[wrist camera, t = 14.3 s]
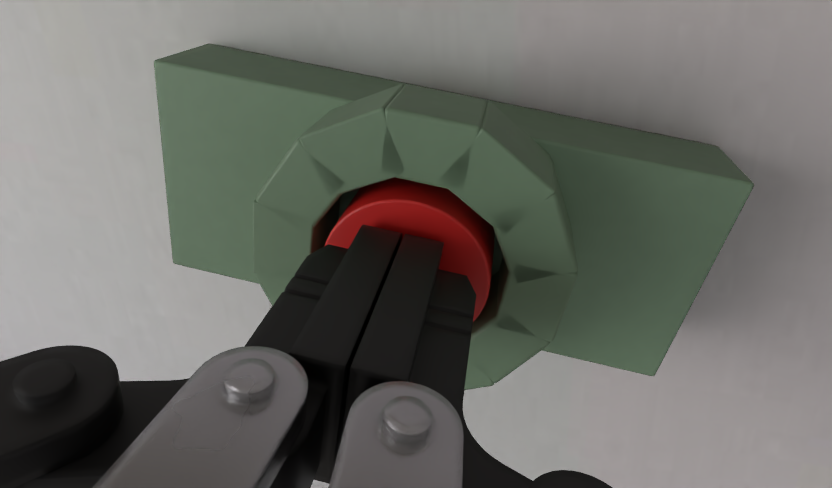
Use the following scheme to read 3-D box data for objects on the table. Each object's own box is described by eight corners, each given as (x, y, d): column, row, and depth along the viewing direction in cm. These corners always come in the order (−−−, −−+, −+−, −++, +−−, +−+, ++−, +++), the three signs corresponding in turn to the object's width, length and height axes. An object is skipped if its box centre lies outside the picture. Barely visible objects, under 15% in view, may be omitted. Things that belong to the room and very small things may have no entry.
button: (511, 182, 10) (509, 222, 9) (477, 310, 12) (470, 362, 11) (354, 149, 11) (327, 182, 9) (341, 278, 12) (316, 325, 11)
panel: (730, 121, 11) (818, 196, 8) (630, 336, 15) (663, 457, 11) (206, 18, 12) (84, 45, 9) (216, 240, 15) (128, 325, 12)
